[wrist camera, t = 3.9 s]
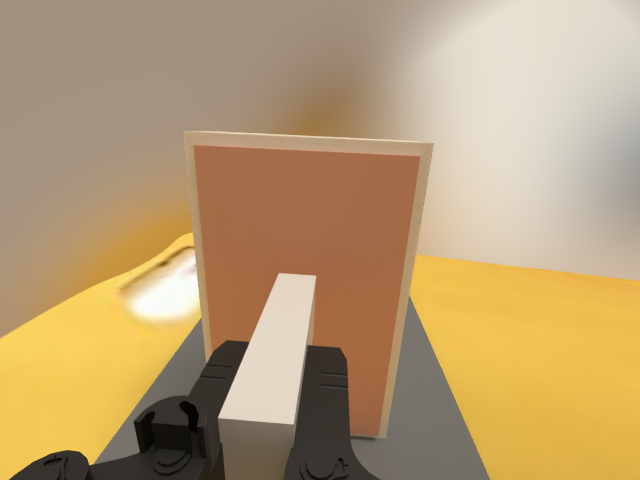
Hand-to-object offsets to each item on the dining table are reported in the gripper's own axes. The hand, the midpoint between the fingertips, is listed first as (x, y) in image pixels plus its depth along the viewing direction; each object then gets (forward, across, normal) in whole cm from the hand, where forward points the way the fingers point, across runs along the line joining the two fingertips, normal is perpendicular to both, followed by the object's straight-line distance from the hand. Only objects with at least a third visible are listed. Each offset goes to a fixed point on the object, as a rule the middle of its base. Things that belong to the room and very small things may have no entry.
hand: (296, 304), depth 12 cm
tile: (+3, 0, -10) cm, 10 cm away
